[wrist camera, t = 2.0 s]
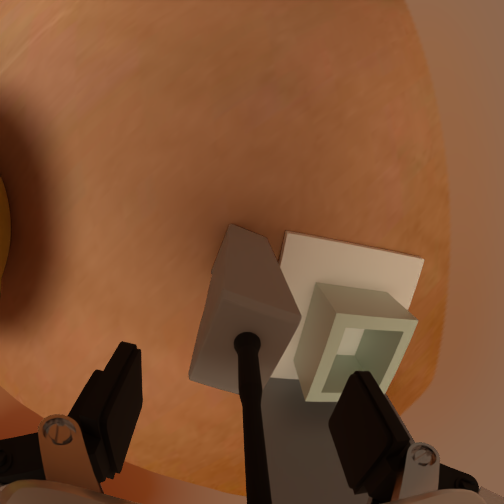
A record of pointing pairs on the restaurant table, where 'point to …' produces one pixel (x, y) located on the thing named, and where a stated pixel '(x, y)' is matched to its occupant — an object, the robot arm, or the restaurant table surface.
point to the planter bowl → (4, 229)
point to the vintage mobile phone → (245, 338)
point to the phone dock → (332, 356)
